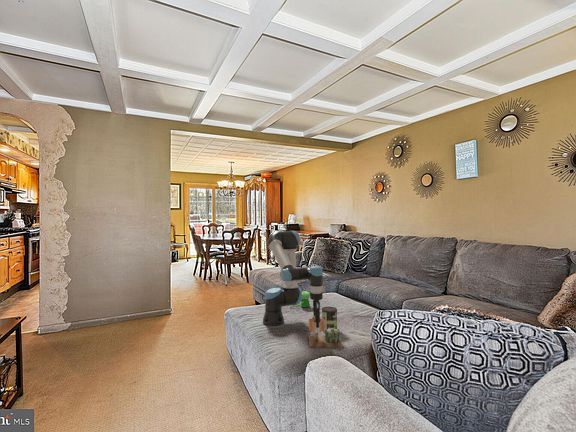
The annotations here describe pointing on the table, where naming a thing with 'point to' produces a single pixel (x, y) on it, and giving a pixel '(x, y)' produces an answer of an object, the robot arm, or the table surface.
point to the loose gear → (312, 324)
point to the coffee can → (329, 317)
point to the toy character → (304, 300)
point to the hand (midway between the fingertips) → (316, 329)
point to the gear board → (326, 339)
